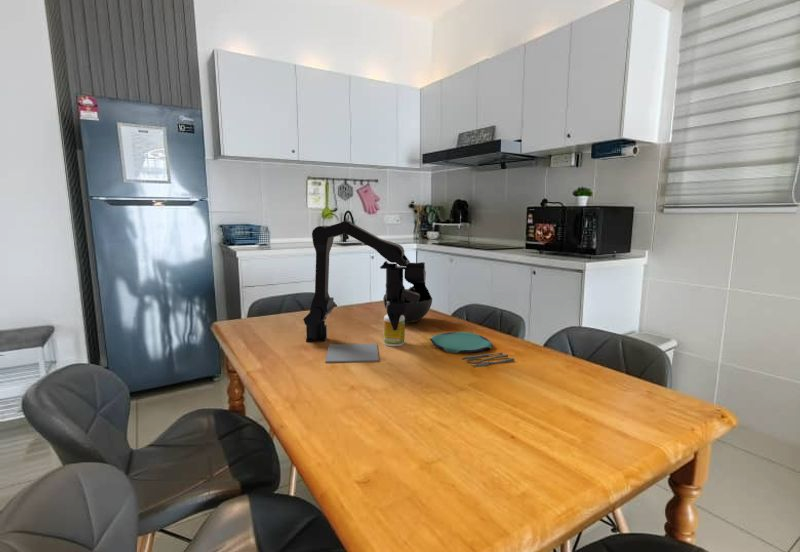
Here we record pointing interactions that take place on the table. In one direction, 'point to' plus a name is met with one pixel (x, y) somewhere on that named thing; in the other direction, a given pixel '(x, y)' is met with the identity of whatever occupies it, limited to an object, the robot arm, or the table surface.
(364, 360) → the grey mat
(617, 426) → the table surface
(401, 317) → the supplement bottle
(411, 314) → the coal bowl
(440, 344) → the cutlery set
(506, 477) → the table surface
